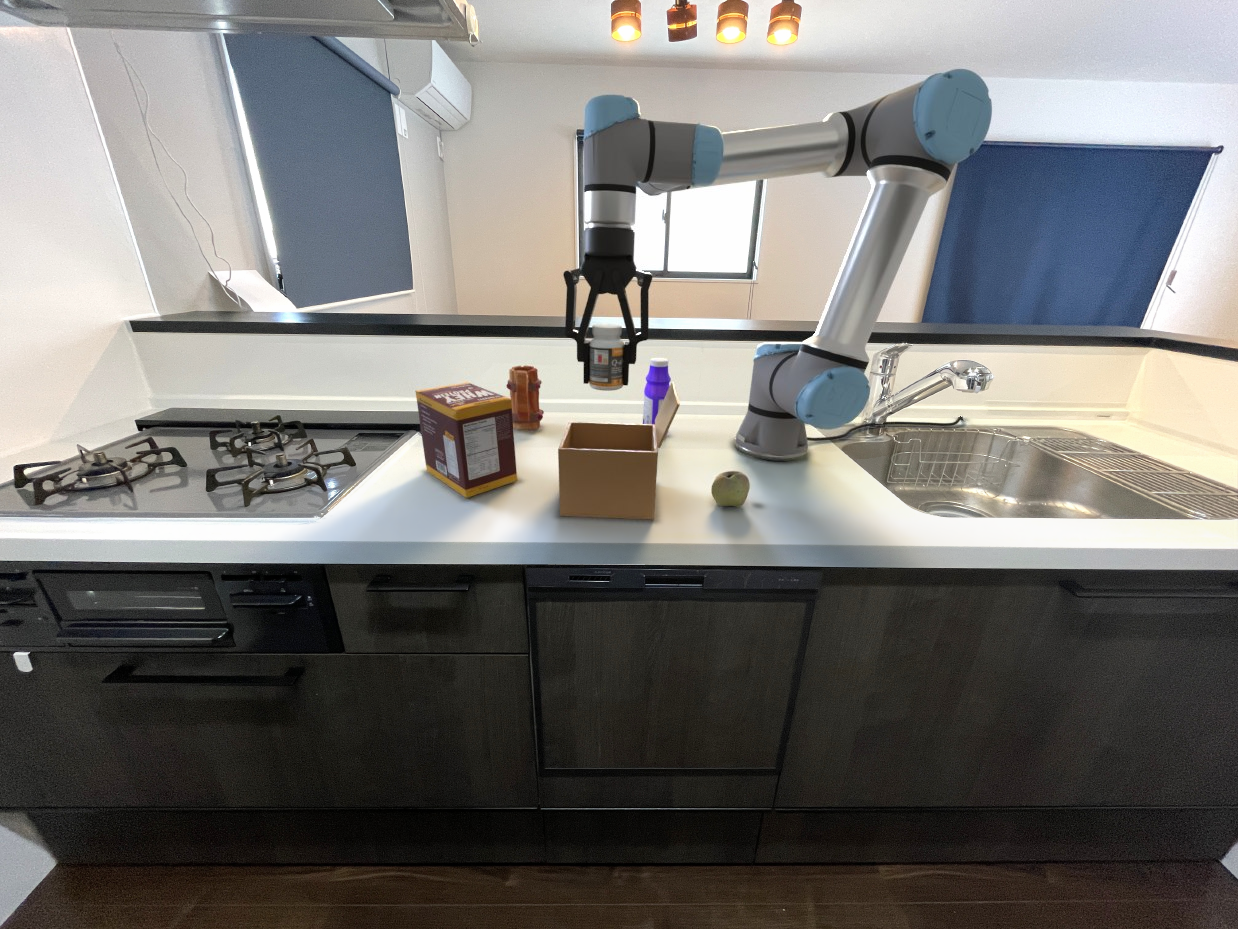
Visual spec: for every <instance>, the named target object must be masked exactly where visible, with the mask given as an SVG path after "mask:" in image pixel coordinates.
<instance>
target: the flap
mask: <svg viewBox="0 0 1238 929" xmlns="http://www.w3.org/2000/svg"><path fill="white" fill-rule="evenodd" d="M669 385H670V387H669V389H668V392H667V394H666V396H665V398H664V401H663V403H662V405H661V407H660V410H659V412H658V414H657V416H656V419H655V429H656V439H657V448H658V450H659V449H661V446H662V445H663V443H664V440H665V438H666V436H667V435H668V433H669V429H670V427H671V425H672V423H673V421H674V418H675V416H676V414H677V413H678V410H679V408H680V406H681V403H680V400H679V396H678V393H677V392H678V391H677V388H676V385H675V383H674V382H673V381H672V382H670V384H669ZM667 432H668V433H667ZM666 434H667V435H666Z"/></svg>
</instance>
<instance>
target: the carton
mask: <svg viewBox="0 0 1238 929" xmlns="http://www.w3.org/2000/svg"><path fill="white" fill-rule="evenodd" d="M557 456H558V458H557V459H558V495H559V498H558V501H559V516H560V517H580V518H581V517H582V518H601V519H602V518H603V519H604V518H605V519H606V518H607V519H630V520H655V509H656V496H657V495H656V494H657V493H656V492H657V476H658V459H659V448H657V439H656V429H655V425H651V424H643V423H623V422H622V423H621V422H619V423H617V422H591V421H590V422H589V421H569V422H568V424H567V426H566V429H565V431H564V433H563V435H562V439H561V441H560V443H559V447H558V449H557Z"/></svg>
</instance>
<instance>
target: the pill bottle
mask: <svg viewBox="0 0 1238 929" xmlns="http://www.w3.org/2000/svg"><path fill="white" fill-rule="evenodd" d="M591 329H592V331H591V333H592V335H593V338H592V339H590V343H589V383H588V385H589V387H590V388H591V389H593V390H597V391H603V392H604V391H606V392H607V391H608V392H609V391H611V392H612V391H618V390H620V389H622V388H624V385H623V374H624V345H625V341H624V340H622V339H621V336H622V333H623V327H622V325H619V324H612V323H597V324H593V325H592V327H591Z"/></svg>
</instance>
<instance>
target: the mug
mask: <svg viewBox="0 0 1238 929" xmlns="http://www.w3.org/2000/svg"><path fill="white" fill-rule="evenodd" d="M538 371H539V370H538V369H537V368H536V367H534V366H533V365H526V364H525V365H523V366H522V365H515V366H512V367H511V368H509V371H508V373H509V374H508V375H509V379H508V380H507V384H506V385H505V386H506V388H507V390H509V398H510V399H511V402H512V416H513V430H517V431H535V430H538V429H539V428H540V427H541V421H542V420H543V418H544V414H545V411H544V410H543V409H541V408H540V389H541V384H542V380H541V379H539V375H538V373H539V372H538Z"/></svg>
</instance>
